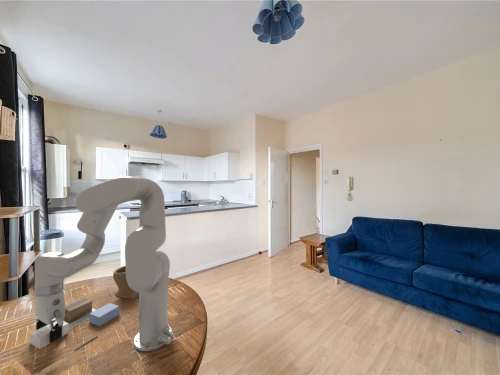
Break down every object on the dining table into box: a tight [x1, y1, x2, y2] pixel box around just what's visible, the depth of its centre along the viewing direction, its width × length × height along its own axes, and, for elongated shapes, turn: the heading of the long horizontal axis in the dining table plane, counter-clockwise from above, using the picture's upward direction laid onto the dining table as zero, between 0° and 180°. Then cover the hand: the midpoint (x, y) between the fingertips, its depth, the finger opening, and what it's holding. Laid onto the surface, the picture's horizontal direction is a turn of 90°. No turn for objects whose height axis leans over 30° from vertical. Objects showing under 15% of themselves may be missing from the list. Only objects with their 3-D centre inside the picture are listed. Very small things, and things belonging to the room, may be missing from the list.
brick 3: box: [88, 302, 120, 327], centre depth 84 cm, size 6×8×5 cm
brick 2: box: [64, 297, 93, 324], centre depth 86 cm, size 6×8×5 cm
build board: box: [51, 307, 97, 331], centre depth 86 cm, size 14×12×1 cm
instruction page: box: [73, 336, 99, 352], centre depth 74 cm, size 9×7×1 cm
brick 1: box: [29, 321, 69, 350], centre depth 73 cm, size 6×8×5 cm
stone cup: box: [112, 265, 139, 300], centre depth 103 cm, size 15×12×15 cm
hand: (48, 335), depth 73 cm, fingers open, 9 cm apart
